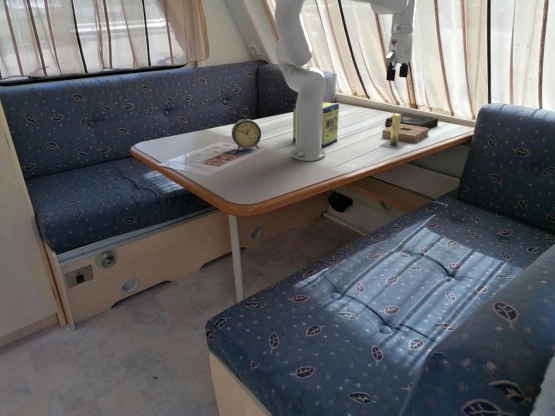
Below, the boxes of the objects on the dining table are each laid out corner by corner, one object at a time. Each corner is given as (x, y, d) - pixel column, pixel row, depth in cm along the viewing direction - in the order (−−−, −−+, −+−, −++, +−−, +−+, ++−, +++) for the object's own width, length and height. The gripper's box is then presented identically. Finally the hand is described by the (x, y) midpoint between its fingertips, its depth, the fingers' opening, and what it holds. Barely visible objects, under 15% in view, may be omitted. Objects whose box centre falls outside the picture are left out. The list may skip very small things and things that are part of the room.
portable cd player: (384, 127, 188) (385, 119, 186) (405, 120, 198) (406, 112, 196) (416, 134, 176) (417, 125, 175) (437, 127, 187) (438, 118, 185)
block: (414, 144, 163) (415, 135, 161) (381, 138, 171) (382, 130, 169) (427, 136, 172) (428, 128, 171) (396, 131, 180) (397, 123, 179)
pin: (395, 146, 160) (399, 115, 155) (388, 145, 162) (391, 114, 156) (398, 144, 162) (402, 114, 157) (391, 143, 164) (395, 113, 159)
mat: (397, 150, 156) (397, 149, 156) (378, 146, 161) (378, 146, 161) (408, 144, 163) (408, 143, 163) (389, 140, 168) (389, 140, 168)
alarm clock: (234, 152, 158) (231, 110, 150) (232, 148, 162) (229, 107, 155) (262, 150, 160) (260, 108, 153) (258, 146, 165) (257, 105, 158)
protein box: (324, 148, 161) (326, 108, 154) (292, 141, 169) (292, 104, 162) (338, 141, 168) (339, 103, 161) (306, 136, 176) (306, 99, 170)
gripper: (400, 30, 138) (394, 83, 146) (422, 28, 150) (416, 76, 157) (380, 30, 143) (376, 81, 151) (403, 28, 154) (398, 75, 162)
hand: (396, 78), depth 154 cm, fingers open, 9 cm apart
